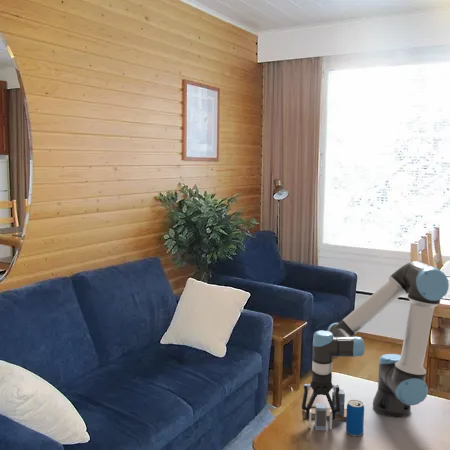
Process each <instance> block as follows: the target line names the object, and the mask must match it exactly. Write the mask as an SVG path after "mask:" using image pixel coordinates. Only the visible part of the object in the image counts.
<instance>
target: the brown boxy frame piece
mask: <svg viewBox="0 0 450 450" xmlns="http://www.w3.org/2000/svg"><path fill="white" fill-rule="evenodd" d="M331 392H332V394H331V400H332V402H333V405H334V408H335V407H336V399H335V392H334V391H331ZM338 395H339V404H340V412H336V413H335V420H334V421H345V422H346V415H347V408H345V401H346V399H345V397H346V393H345V390H344V389H341V388H339V393H338ZM326 408H327V413H326V420H329V418H330V410H331V407H326ZM303 419H307V418H306V410H303ZM311 420H315V405H312V407H311Z"/></svg>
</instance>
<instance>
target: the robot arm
mask: <svg viewBox="0 0 450 450" xmlns="http://www.w3.org/2000/svg"><path fill="white" fill-rule="evenodd" d="M449 283H450V282H449V280H448V277H447V276H446V274H445V273H444V272H443V271H442V270H441V269H439V268H437V267H436V266H433V265H431V264H428V263H426V262H424V261H420V260H414V261H410V262H407V263H406V264H404V265H402V266H401V267H399V268H398V269H397V270H395V271H394V272H393V273H392V274H391V275H389V277H388V280H387V281H386V282H385V283H383V285H381V286H380V288H379V289H377V290H376V291H375V292H374V293H373V294H371V295H370V296H369V297H368V298H366V299H365V300H364V301H363V302H362V303H361V304H360V305H358V306H357V307H356V308H354V310H352V311H351V312H350V313H349V314H348V315H347V316H345V317H344V318H343V319H342V320H340V321H339V322H333V323H331V324H330V325H329V326H328V328H327V330H317V331H315V332H314V333H313V340H312V365H311V366H312V367H311V369H312V370H311V382H310V383H303V390H304V391H303V396H302V401H301V410H302V411H304V410H306V418H305V419H306V420H308V428H309V429H311V428H312V419H311V407H312V406H314V405H313V404H314V402H315V400H316V398H317V396H321V395H322V396H326V399H327V401H328V404H329V406H330V407H329V408H331V410H330V418H329V426H328V427H329V430H332V429H333V421H336V420H335V413H336V412H340V404H339V395H338V393H339V389H340V386H339V384H336V385H334V384H333V382H332V379H333V373H332V372H333V358H335V357H336V358H342V357H343V358H345V357H346V358H347V357H349V358H350V357H351V358H352V357H353V358H355V357H356V358H357V357H362V356H363V355H364V354H365V351H366V349H365V341H364V339H363V338H362V337H361V336H356V334H357V333H358V332H360V330H362V329H363V328H364V327H366V326H367V325H368V324H369V323H370V322H371V321H373V320H374V319H375V318H376V317H378V315H379V314H381V313H382V312H384V310H386V309H387V308H388V307H389V306H391V305H392V304H393V303H394V302H395V301H397V300H398V299H399V298H400V297H402V296H405V295H407V298H408V300H409V301H410V305H409V309H408V310H409V311H408V316H407V321H406V327H405V331H404V337H403V343H402V349H401V353H400V354H398V353H397V354H396V353H387V354H386V353H385V354H382V355H380V357H379V361H378V378H377V379H378V380H377V382H378V383H377V386H378V387H377V391H376V393H375V396H374V398H373V399H372V407H373V409H374V410H375V411H376V412H378V413H379V414H381V415H383V416H387V417H392V418H401V417H402V418H403V417H406V416H409V415H410V414H411V409H412V408H411V406H415V405H420V403H422V402H424V400H426V398H427V397H428V393H429V389H428V385H427V383H426V382H425V381H426V375H427V370H426V369H425V368H424V362H425V357H426V352H427V347H428V342H429V337H430V331H431V326H432V322H433V316H434V311H435V308H436V307H437V306H438V305H440V303H441V299H443V298H444V297H446V295H447V293H448V291H449V288H450V287H449V285H450V284H449ZM310 388H311V389H312V390H313V391H312V394H311V396H310V398H309V400H308V394H309V391H310ZM331 390H333V392H335V399H336V407H335V408H334V405H333V402H332V396H331V395H330V392H331ZM307 400H308V402H307Z"/></svg>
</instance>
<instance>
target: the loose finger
mask: <svg viewBox="0 0 450 450" xmlns="http://www.w3.org/2000/svg"><path fill="white" fill-rule="evenodd" d="M314 404H315V405H314V406H315V419H314V429H315V430H316V431H327V419H326V413H327V408H328V407H327V404H326V403H321V402H315V403H314Z"/></svg>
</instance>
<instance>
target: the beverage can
mask: <svg viewBox="0 0 450 450" xmlns="http://www.w3.org/2000/svg"><path fill="white" fill-rule="evenodd" d="M347 402H348V403H346V409H347V415H346V421H345V431H346V432H347V434H348V435H350V436H352V437H353V436H354V437H359V436H361V435H363V434H364V423H365V405H364V402H362V401H361V400H358V399H350V400H348V401H347Z"/></svg>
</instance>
